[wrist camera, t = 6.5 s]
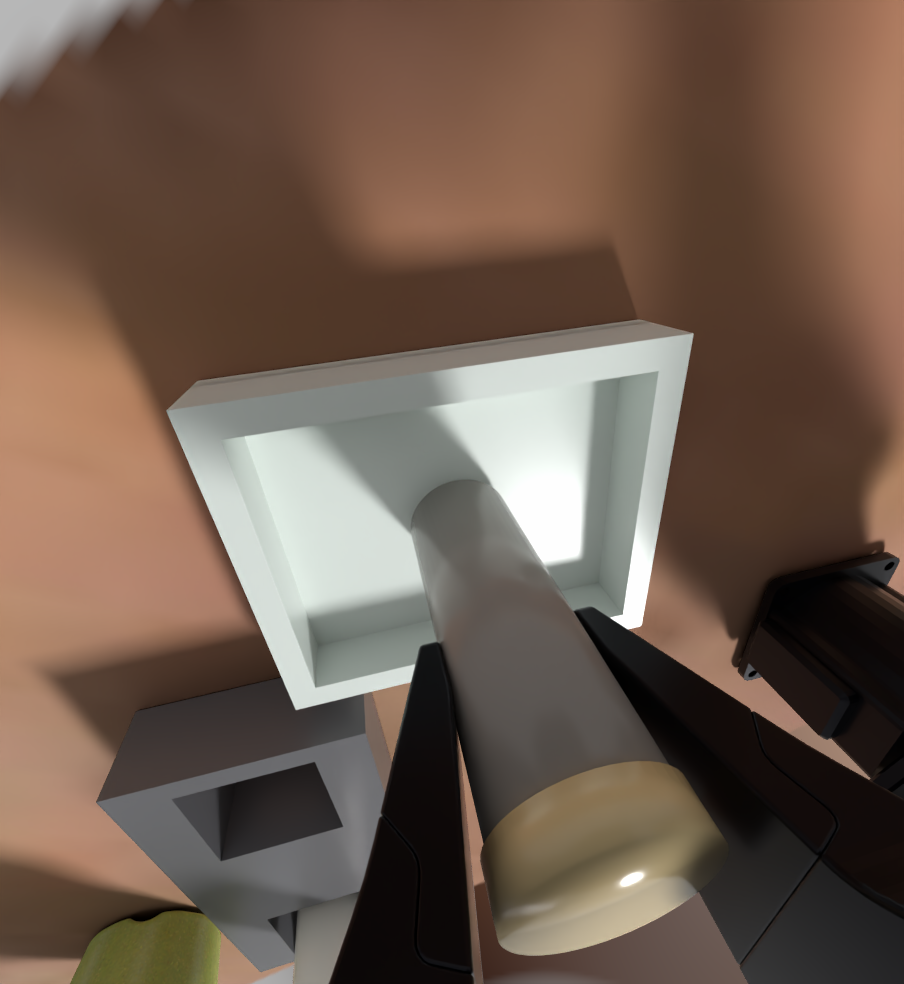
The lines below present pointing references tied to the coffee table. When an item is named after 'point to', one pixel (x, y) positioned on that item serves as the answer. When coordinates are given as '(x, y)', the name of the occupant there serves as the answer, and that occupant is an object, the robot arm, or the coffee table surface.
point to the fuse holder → (253, 805)
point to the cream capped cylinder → (551, 743)
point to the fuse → (321, 938)
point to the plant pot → (153, 952)
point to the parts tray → (432, 482)
